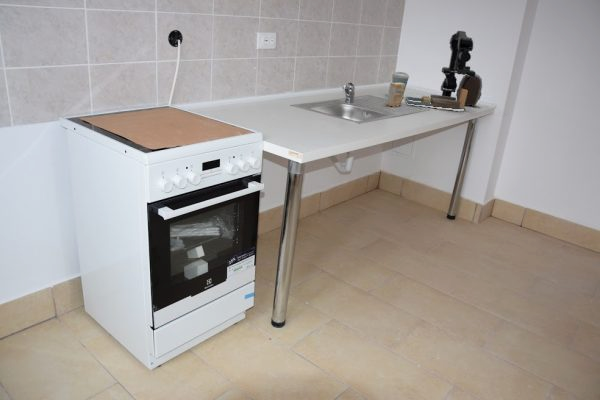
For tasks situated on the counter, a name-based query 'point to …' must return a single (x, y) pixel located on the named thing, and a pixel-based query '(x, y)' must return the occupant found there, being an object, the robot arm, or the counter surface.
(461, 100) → the brown and grey block
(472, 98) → the dark brown rounded block
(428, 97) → the brass block
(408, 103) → the slate tray
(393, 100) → the supplement box
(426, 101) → the brass block
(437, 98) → the railed tan board
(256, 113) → the counter surface
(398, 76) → the disposable coffee cup
